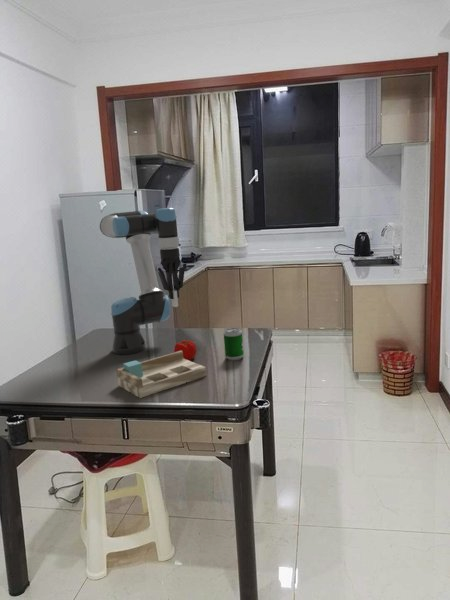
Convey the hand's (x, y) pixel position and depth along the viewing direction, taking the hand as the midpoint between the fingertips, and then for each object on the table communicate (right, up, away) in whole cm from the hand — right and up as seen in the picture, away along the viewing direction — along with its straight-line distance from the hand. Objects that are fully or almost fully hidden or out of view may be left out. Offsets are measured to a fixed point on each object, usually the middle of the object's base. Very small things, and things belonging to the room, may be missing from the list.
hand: (175, 306), depth 204 cm
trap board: (-3, -28, -14) cm, 31 cm away
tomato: (+4, -22, +9) cm, 24 cm away
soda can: (+24, -22, +5) cm, 33 cm away
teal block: (-13, -26, -17) cm, 34 cm away
